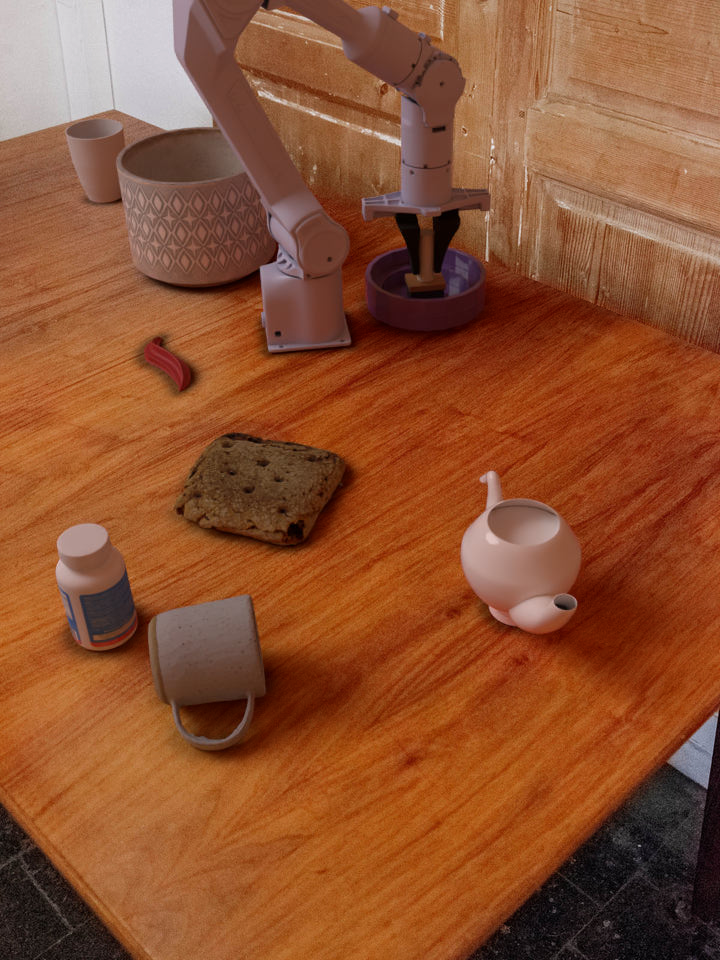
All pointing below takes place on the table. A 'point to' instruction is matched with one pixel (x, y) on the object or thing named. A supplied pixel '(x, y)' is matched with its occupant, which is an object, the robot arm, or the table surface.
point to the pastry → (260, 487)
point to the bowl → (425, 314)
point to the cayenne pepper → (167, 363)
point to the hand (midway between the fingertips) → (425, 270)
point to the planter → (192, 209)
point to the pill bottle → (95, 588)
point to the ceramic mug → (207, 660)
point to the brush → (426, 271)
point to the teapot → (522, 561)
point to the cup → (97, 156)
